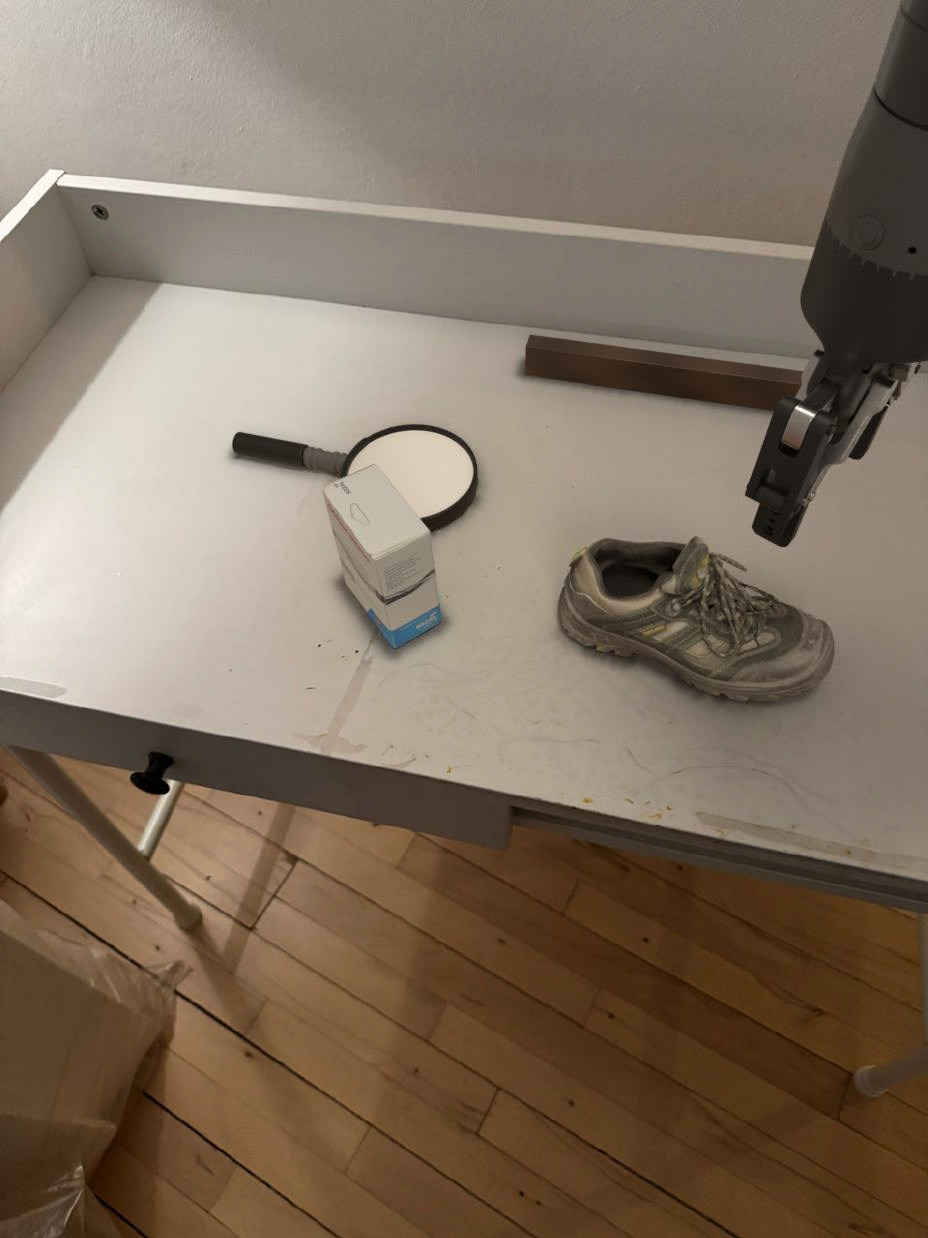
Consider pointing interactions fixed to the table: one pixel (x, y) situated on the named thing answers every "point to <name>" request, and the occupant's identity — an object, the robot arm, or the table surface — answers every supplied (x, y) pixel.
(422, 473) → the magnifying glass
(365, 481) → the ink box
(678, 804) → the table surface
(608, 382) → the brown rectangular bar
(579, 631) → the hiking shoe
